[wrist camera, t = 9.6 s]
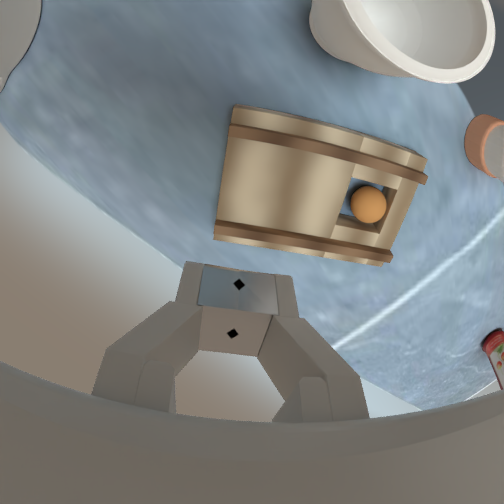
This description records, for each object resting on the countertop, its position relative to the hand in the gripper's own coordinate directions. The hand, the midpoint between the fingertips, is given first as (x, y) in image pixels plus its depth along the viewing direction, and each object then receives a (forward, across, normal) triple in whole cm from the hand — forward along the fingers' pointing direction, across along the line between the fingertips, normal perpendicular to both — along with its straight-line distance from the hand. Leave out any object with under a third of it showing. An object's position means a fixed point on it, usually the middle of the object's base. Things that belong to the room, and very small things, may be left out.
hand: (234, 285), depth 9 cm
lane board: (+23, -9, +5) cm, 25 cm away
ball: (+21, -14, +5) cm, 26 cm away
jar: (+23, -8, -13) cm, 28 cm away
